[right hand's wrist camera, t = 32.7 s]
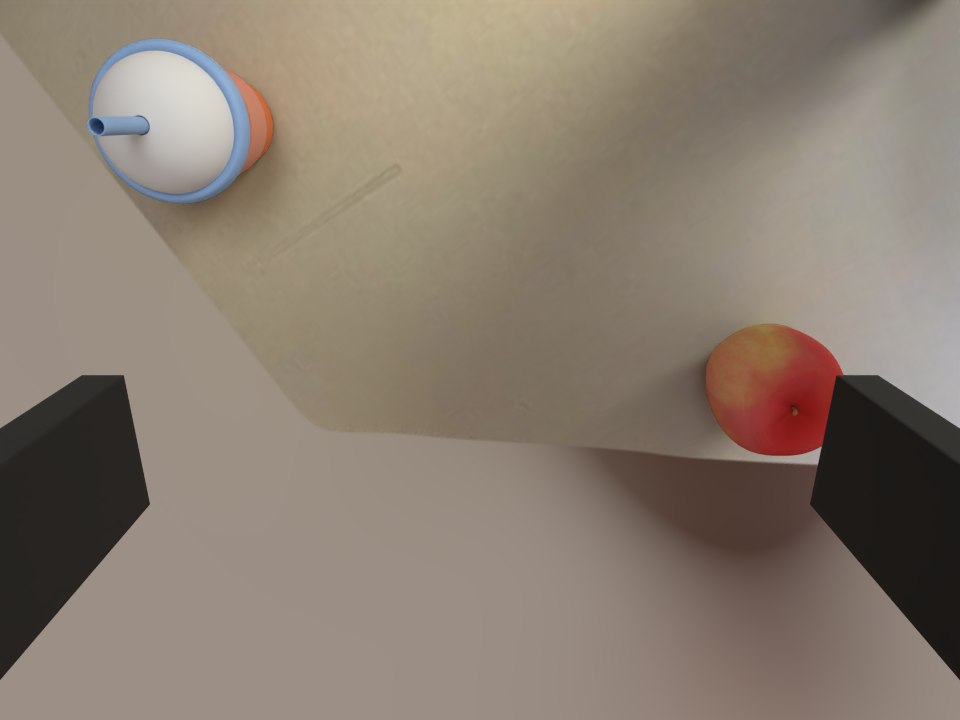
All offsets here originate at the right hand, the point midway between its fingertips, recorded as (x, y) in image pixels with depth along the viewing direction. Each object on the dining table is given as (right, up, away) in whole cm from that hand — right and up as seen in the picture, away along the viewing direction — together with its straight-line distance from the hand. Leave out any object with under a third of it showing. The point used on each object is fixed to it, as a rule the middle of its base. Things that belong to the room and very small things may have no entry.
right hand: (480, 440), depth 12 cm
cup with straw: (-18, +19, +36) cm, 44 cm away
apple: (+22, +1, +42) cm, 48 cm away
